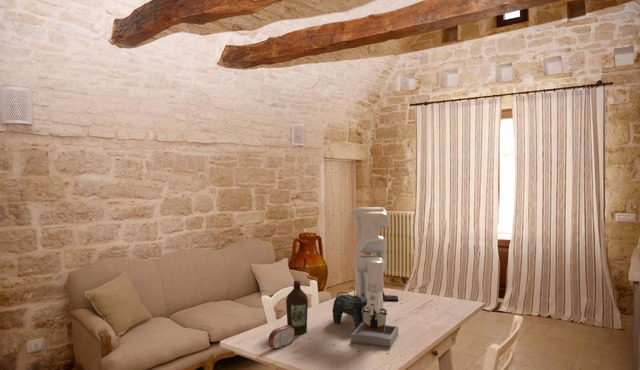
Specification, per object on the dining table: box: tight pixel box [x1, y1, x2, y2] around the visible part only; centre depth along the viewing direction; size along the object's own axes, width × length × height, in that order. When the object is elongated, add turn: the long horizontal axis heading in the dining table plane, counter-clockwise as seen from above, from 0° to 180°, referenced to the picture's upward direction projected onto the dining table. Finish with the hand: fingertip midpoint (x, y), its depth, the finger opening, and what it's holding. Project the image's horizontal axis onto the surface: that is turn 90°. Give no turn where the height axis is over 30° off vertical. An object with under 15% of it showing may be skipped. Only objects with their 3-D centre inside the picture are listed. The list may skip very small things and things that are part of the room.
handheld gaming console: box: [382, 290, 399, 303], centre depth 280 cm, size 9×12×10 cm
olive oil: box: [285, 279, 309, 336], centre depth 222 cm, size 11×11×25 cm
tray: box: [350, 322, 399, 349], centre depth 212 cm, size 18×18×4 cm
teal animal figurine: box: [332, 286, 367, 329], centre depth 230 cm, size 20×6×20 cm, turn 47°
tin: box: [267, 324, 296, 350], centre depth 204 cm, size 15×3×8 cm, turn 141°
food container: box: [361, 307, 389, 333], centre depth 213 cm, size 12×6×10 cm, turn 71°
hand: (375, 325), depth 212 cm, fingers closed on food container, 5 cm apart
